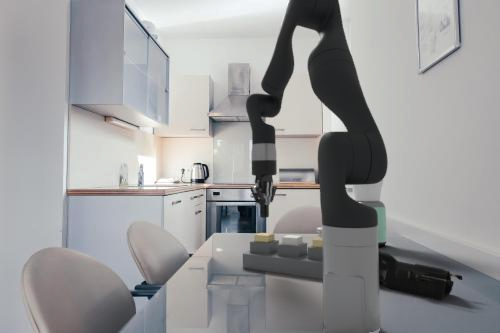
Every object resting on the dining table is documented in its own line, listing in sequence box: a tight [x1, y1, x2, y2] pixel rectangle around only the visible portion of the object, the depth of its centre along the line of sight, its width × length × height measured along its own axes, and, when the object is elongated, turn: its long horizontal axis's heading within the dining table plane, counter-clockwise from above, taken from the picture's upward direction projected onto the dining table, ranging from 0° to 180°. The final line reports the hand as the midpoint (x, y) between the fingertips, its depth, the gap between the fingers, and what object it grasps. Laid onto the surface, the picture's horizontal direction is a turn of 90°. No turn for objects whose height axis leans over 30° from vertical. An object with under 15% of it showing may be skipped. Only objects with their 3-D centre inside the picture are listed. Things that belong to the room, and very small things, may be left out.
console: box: [242, 239, 323, 280], centre depth 97 cm, size 12×26×7 cm, turn 60°
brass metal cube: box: [312, 236, 322, 248], centre depth 92 cm, size 4×4×3 cm
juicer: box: [352, 179, 388, 247], centre depth 131 cm, size 19×13×35 cm
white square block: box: [281, 234, 304, 246], centre depth 97 cm, size 4×4×3 cm
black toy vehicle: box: [378, 250, 463, 301], centre depth 79 cm, size 7×25×8 cm, turn 43°
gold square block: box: [253, 232, 275, 243], centre depth 101 cm, size 4×4×3 cm
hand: (264, 217), depth 102 cm, fingers closed
